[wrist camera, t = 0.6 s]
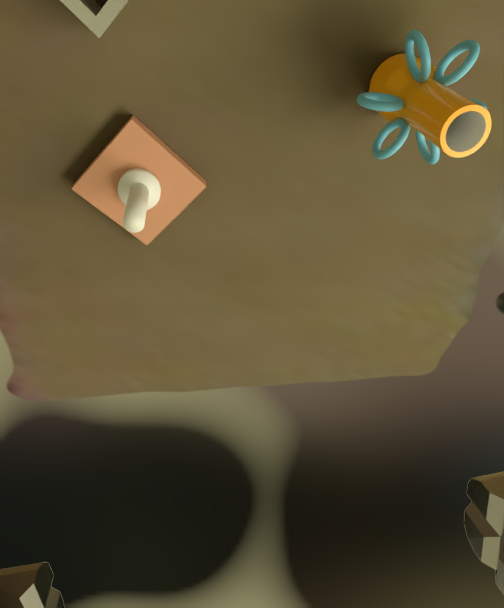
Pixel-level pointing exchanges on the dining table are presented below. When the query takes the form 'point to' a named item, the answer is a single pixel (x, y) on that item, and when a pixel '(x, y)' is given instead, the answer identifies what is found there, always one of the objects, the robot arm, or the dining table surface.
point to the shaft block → (139, 182)
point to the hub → (96, 13)
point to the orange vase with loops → (427, 102)
